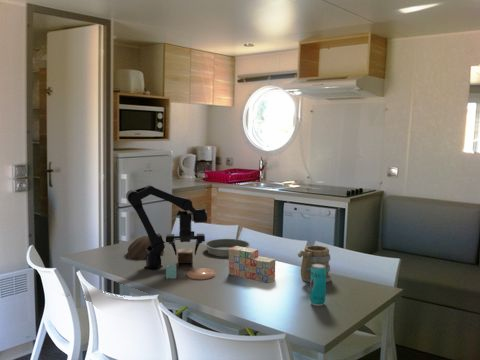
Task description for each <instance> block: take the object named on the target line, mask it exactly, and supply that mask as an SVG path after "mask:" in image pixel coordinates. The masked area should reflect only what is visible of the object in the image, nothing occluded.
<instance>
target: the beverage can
mask: <svg viewBox="0 0 480 360" xmlns="http://www.w3.org/2000/svg"><path fill="white" fill-rule="evenodd" d="M309 283H310V288H309V289H310V291H309V292H310V293H309V300H310V302H311V305H312V306H315V307H321V306H324V304H325V302H326V294H327V293H326V290H327V287H326V286H327V282H326V268H325V265H323V264H313V265H312V268H311V282H309Z"/></svg>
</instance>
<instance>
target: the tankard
mask: <svg viewBox="0 0 480 360" xmlns="http://www.w3.org/2000/svg"><path fill="white" fill-rule="evenodd" d="M297 257H298V258H300V259H301V258H302V263H301V267H300V277H301V280H302V281H304V282H307V283H310V282H311V268H312V265H313V264H323V265H325V268H326V283H329V282H331V281H332V276H331V274H330V273H329V272H331V265H330V263H329V262H330V261H331V255H330V249H329V248H328V247H327V246H323V245H308V246H304V251H303V250H300V251H299V252H298V253H297Z"/></svg>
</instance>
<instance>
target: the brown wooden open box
mask: <svg viewBox="0 0 480 360" xmlns="http://www.w3.org/2000/svg"><path fill="white" fill-rule="evenodd" d="M193 256H194V252H193V248H178V249H177V267H178V268H179V266H180V265H179V264H180V263H181V264H182V263H185V264H187V263H189V264H190V263H191V267H194V263H193V262H194V261H193V260H194V259H193V258H194V257H193Z"/></svg>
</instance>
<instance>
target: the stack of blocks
mask: <svg viewBox="0 0 480 360" xmlns="http://www.w3.org/2000/svg"><path fill="white" fill-rule="evenodd" d="M228 274H229V275H232V276H236V277H239V278H245V279H249V280H255V281H259V282H264V283H270V282H272V281H275V280H276V259H275V258H271V257H265V256H262V255H261V256H259V249H257V248H252V247H251V248H250V247H248V248H246V247H240V246H235V247H231V248H229V257H228Z"/></svg>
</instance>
